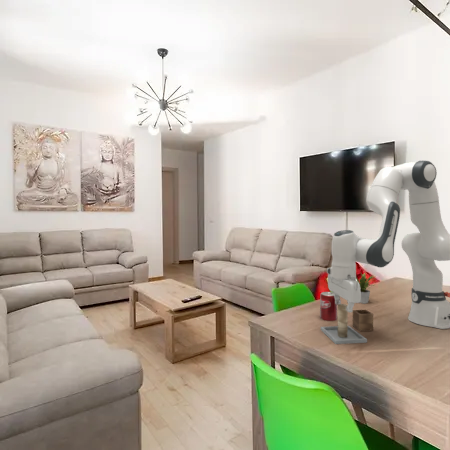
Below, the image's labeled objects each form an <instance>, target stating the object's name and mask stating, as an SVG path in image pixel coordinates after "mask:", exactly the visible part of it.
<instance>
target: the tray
mask: <svg viewBox="0 0 450 450" xmlns="http://www.w3.org/2000/svg"><path fill="white" fill-rule="evenodd" d="M320 331H321V332H322V333H323V334H324V335H325V336H327V337H328V338H329V340H330V341H332V342H333V343H334V344H335V345H346V344H349V345H350V344H364V343H365V344H366V343H368V339H367V338H366V337H365V336H363V335H362V334H361V333H360V332H358V330H355V329H354V327H352V326H350V325H348V332H347V337H346V338H342V337H339V336H338V325H331V326H320Z"/></svg>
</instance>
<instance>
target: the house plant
mask: <svg viewBox="0 0 450 450" xmlns="http://www.w3.org/2000/svg"><path fill="white" fill-rule="evenodd" d="M360 274H361V275H360V276H361V277H360V278H359V279H358V278H357V276H356V280H357V281H358V283H359V284H360V290H361V301H360V303H359V304H364V305H365V304H368V303H369V299H370V295H371V294H370V293H371V291H370V290H369V289H370V287H371V284H370V283H371V280H372V281H375V279H373V278H375V274H373V275H370V276H369V277H366V272H365V271H364V273H363V274H362V272H360ZM372 287H375V284H372ZM367 288H368V289H367Z"/></svg>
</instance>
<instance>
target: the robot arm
mask: <svg viewBox="0 0 450 450" xmlns="http://www.w3.org/2000/svg"><path fill="white" fill-rule="evenodd" d="M436 178H437V168H436V166H435V164H434V163H433V162H431V161H429V160H418V161H410V162H404V163H401V164H397V165H395V166H394V165H393V166H385V167H382V168H381V169H380V170H379V171H378V173H377V174H376V175H375V177H374V179H373V181H372V183H371V185H370V188H369V190H368V191H367V194H366V199H365V201H366V204H367V206H368V208H369V209H370V210H371V211H372V212H374V213H375V214H377V215H379V216H381V217H382V221H381V225H380V230H379V235H378V236H377V238H375V239H374V238H373V239H372V238H371V239H370V238H364V237H361V236H359V235H358V234H355V232H354V231H353V230H349V229H345V230H339V231H336V232H334V234H333V235H332V240H331V256H332V259H331V260H332V261H331V266H330V267H327V268H326V274H327V285H328V286H327V287H328V289H329V292H330V291H331V292H333V293H334V298H335V304H337V306H338V304H342V300H341V298H342V299H344V300H346V301H347V305H348V306H347V307H346V311H347V312H348V313H353V310H354V306H355V304H361V303H360V301H361V290H360V289H361V288H360V284H359V283H360V282H359V283H358V281H357V280H356V277H357V264H356V263H361V264H365V265H366V264H367V265H369V266H370V265H371V266H374V267H377V268H384V267H386V266H388V265H389V264H390V263H391V262H392V261H393V259H394V255H395V242H396V237H397V232H398V227H399V222H400V217H401V208H400V206H399V204H398V197H399V196H400V192H401V191H404V190H407V191H408V205H409V214H410V215H409V216H410V220H411V221H410V222H411V223H412V224H413V225H415V227H416V229H418V231H419V232H413V233H409V234H406V235H404V237H403V238H402V239H401V248H402V250H403V252H404V253H405V254H406V255H407V258H408V260H409V262H410V266H411V270H412V288H411V292H410V293H411V306H410V311H409V314H408V317H407V320H408V321H410V322H412V323H414V324H416V325H420V326H425V327H431V328H437V329H441V330H446V329H450V301H448V300H447V298H450V292H448V291H444V290H443V282H444V281H443V277H444V276H443V273H442V271H441V269H439V267H438V266H437V264H436V262H435V261H437V262H438V261H439V262H443V261H444V262H445V261H450V233H449V232H448V230H447V229H446V226H445V224H444V222H443V219H442V215H441V208H440V200H439V193H438V189H437V185H436V182H435V180H436Z"/></svg>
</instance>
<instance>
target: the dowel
mask: <svg viewBox="0 0 450 450" xmlns="http://www.w3.org/2000/svg"><path fill="white" fill-rule="evenodd" d="M347 306H348V304H345V303H341V304H338V305H337V326H338V336H339V337H342V338H346V337H347V332H348V326H349V325H348V324H349V323H348V320H349V319H348V318H349V317H348V316H349V312H347V311H346V307H347Z"/></svg>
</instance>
